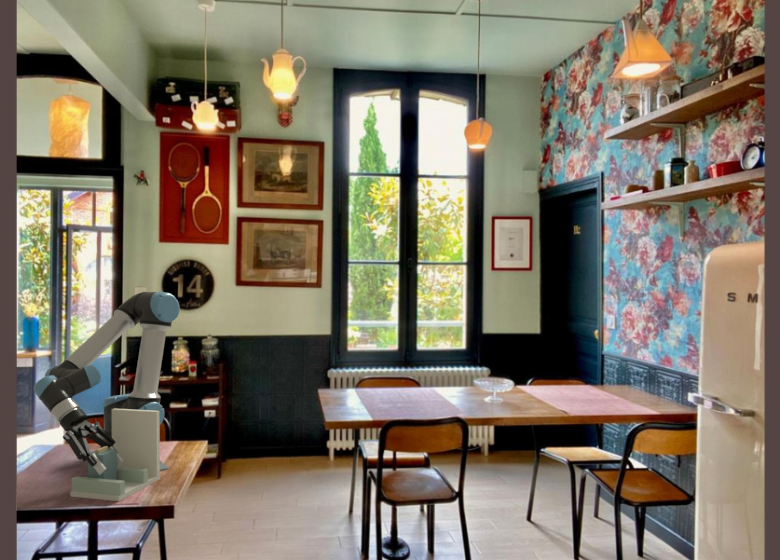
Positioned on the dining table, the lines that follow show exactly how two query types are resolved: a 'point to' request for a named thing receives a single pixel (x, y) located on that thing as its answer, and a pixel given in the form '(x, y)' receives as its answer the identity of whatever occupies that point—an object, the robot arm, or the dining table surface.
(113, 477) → the teal block with bar
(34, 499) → the dining table surface
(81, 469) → the dining table surface
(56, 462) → the dining table surface
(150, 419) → the pale green rail stand
